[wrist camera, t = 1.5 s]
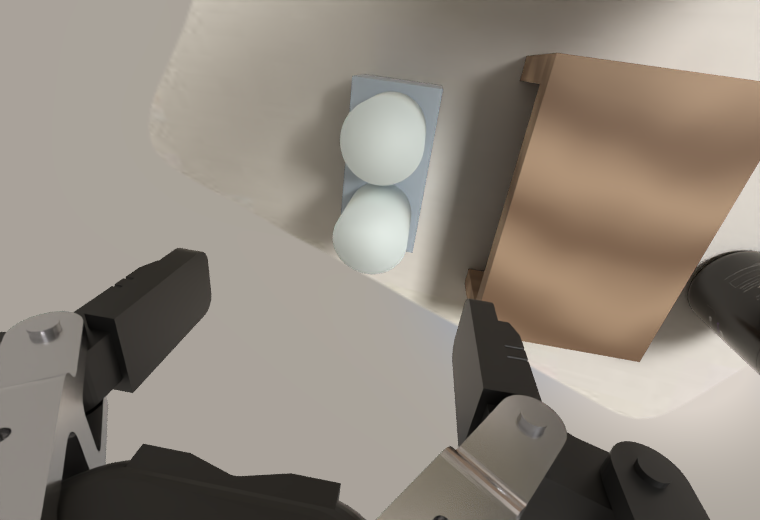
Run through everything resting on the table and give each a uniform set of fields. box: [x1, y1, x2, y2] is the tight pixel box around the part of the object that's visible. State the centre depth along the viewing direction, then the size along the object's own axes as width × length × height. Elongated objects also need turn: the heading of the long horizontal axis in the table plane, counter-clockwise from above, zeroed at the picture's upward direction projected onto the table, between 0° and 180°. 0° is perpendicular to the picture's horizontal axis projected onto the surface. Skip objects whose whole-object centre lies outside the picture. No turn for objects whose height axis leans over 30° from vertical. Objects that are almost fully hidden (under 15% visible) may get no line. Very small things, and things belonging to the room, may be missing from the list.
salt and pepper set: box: [333, 74, 443, 274], centre depth 25 cm, size 11×6×10 cm, turn 173°
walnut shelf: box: [465, 53, 760, 362], centre depth 26 cm, size 18×12×7 cm, turn 173°
